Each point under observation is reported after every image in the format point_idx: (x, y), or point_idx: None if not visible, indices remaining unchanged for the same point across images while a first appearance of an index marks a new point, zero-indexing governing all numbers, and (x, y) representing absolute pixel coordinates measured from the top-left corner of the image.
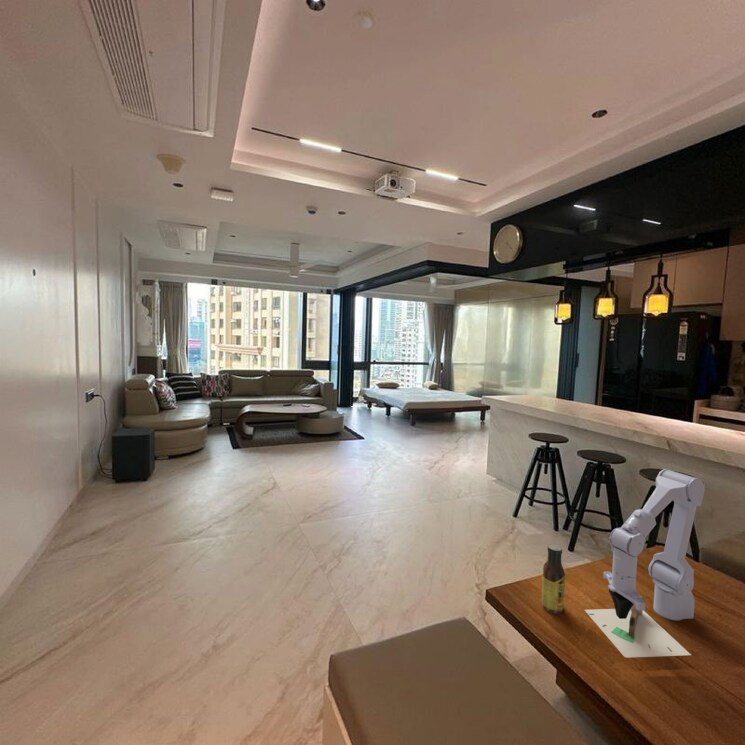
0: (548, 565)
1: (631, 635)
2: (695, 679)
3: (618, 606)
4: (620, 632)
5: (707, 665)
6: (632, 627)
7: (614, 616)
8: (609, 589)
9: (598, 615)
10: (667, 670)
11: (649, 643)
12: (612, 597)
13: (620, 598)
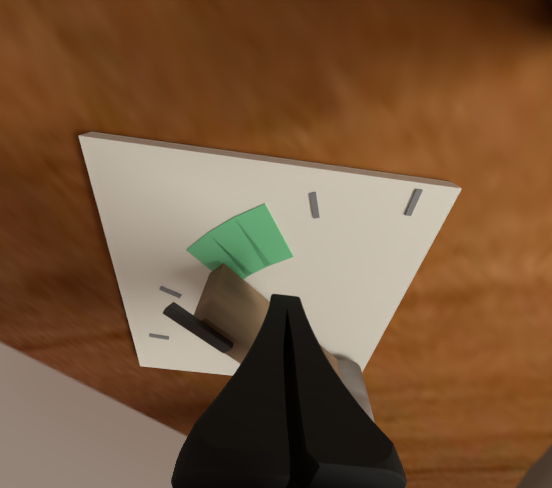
0: None
1: (214, 271)
2: (57, 312)
3: (263, 359)
4: (253, 245)
5: (125, 368)
6: (200, 304)
7: (352, 292)
8: (398, 481)
9: (387, 231)
10: (77, 266)
11: (186, 302)
12: (336, 399)
13: (197, 483)
